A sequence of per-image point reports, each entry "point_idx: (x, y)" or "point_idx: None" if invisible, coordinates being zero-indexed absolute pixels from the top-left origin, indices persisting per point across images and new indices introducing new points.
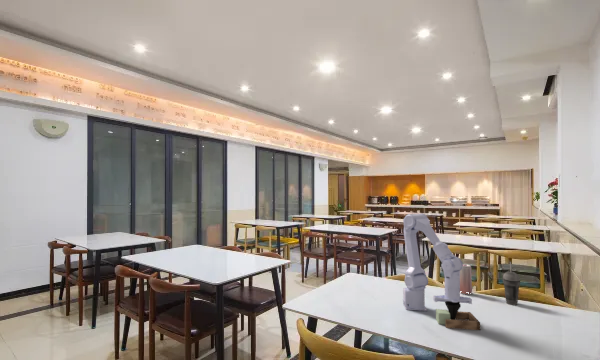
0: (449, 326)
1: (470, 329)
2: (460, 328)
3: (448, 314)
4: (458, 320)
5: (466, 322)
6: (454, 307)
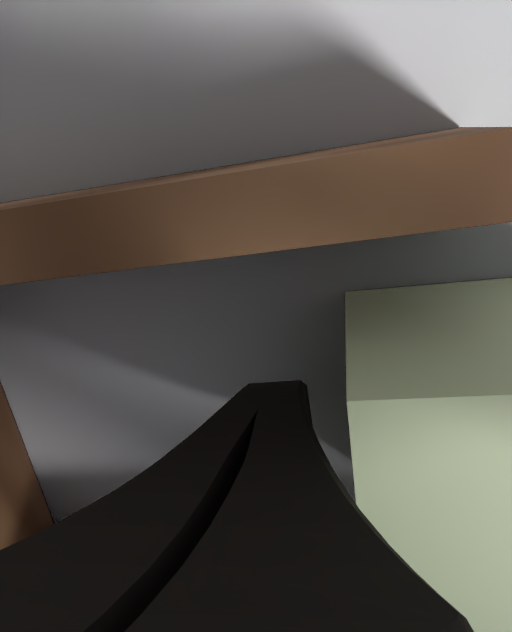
0: (396, 140)
1: (27, 199)
2: (184, 173)
3: (399, 391)
4: (168, 229)
5: (9, 209)
6: (145, 590)
